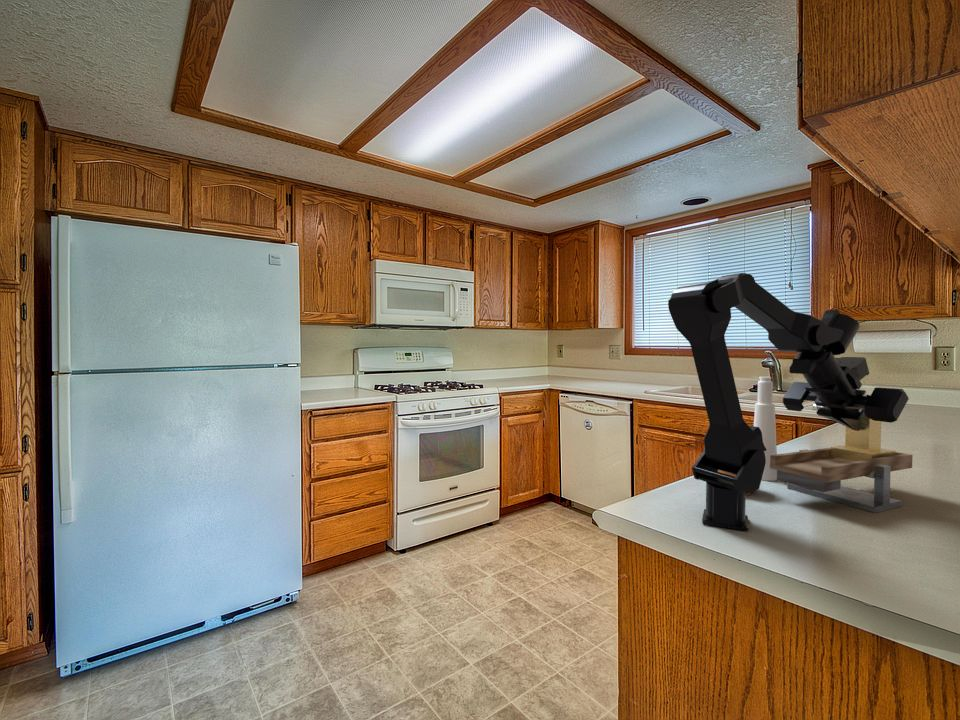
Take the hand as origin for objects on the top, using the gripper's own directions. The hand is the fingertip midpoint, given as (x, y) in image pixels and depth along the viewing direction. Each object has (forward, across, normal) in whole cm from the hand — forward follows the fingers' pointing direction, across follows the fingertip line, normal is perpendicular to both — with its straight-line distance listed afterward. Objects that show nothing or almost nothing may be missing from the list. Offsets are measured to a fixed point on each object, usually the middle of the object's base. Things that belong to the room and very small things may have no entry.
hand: (857, 428), depth 90 cm
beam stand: (+5, 0, +12) cm, 14 cm away
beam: (+3, 0, +10) cm, 10 cm away
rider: (+6, 0, +3) cm, 7 cm away
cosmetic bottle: (+5, +15, +13) cm, 20 cm away
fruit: (-4, +11, +22) cm, 25 cm away
